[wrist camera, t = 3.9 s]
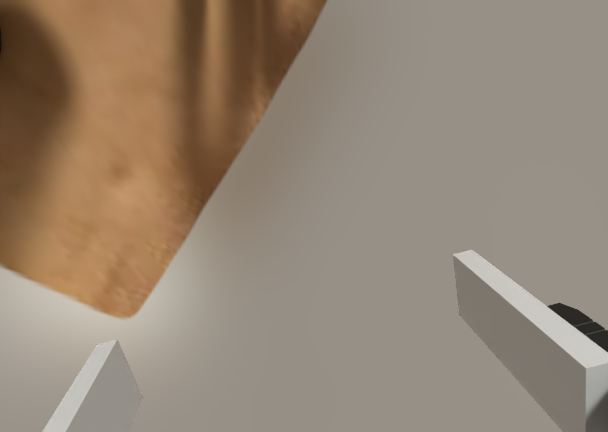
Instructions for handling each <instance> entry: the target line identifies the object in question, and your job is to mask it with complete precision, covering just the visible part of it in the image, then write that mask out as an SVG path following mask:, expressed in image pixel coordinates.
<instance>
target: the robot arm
mask: <svg viewBox="0 0 608 432" xmlns="http://www.w3.org/2000/svg"><path fill="white" fill-rule="evenodd" d="M0 52H1V31H0ZM453 259H454V269H455V278H456V287H457V296H458V305H459V315H460V316H461V317H462V318H463V319H464V320H465V321H466V323H467V324H468V325H469V326H470V327H471V328H472V329H473V331H474V332H475V333H476V334H477V335H478V336H479V337H480V338H481V340H482V341H483V342H484V343H485V344H486V345H487V346H488V348H489V349H490V350H491V351H492V352H493V353H494V354H495V355H496V357H497V358H498V359H499V360H500V361H501V362H502V363H503V364H504V366H505V367H506V368H507V369H508V370H509V371H510V372H511V373H512V375H513V376H514V377H515V378H516V379H517V380H518V381H519V382H520V383H521V385H522V386H523V387H524V388H525V389H526V390H527V391H528V392H529V394H530V395H531V396H532V397H533V398H534V399H535V401H536V402H537V403H538V404H539V405H540V406H541V407H542V408H543V410H544V411H545V412H546V413H547V414H548V415H549V416H550V417H551V419H552V420H553V421H554V422H555V423H556V424H557V425H558V426H559V428H560V429H561V430H562V431H563V432H608V331H607V330H605V329H604V328H603V327H602V326H601V325H599V324H598V323H596V322H593V321H592V319H590V318H589V317H588V316H586V315H585V314H583V313H582V312H580V311H579V310H577V309H574V308H572V307H569V306H566V305H563V304H561V303H557V304H553V305H550V306H545V305H544V304H543V303H542V302H540V301H539V300H538V299H536V298H535V297H534V296H532V295H531V294H530V293H528V292H527V291H526V290H524V289H523V288H522V287H520V286H519V285H518V284H516V283H515V282H514V281H512V280H511V279H510V278H509V277H507V276H506V275H505V274H503V273H502V272H500V271H499V270H498V269H497V268H495V267H494V266H493V265H491V264H490V263H489V262H487V261H486V260H485V259H484V258H482V257H481V256H480V255H478V254H477V253H476V252H474V251H473V250H469V251H465V252H461V253H457V254H453ZM142 397H143V396H142V394H141V392H140V390H139V387H138V385H137V382H136V380H135V378H134V376H133V373H132V371H131V369H130V367H129V364H128V362H127V360H126V358H125V356H124V353H123V351H122V349H121V346H120V344H119V342H118V340H113V341H109V342H105V343H101V344H97V346H96V347H95V349H94V351H93V352H92V354H91V355H90V357H89V358H88V360H87V362H86V363H85V365H84V366H83V368H82V369H81V371H80V373H79V375H78V376H77V377H76V379H75V381H74V382H73V384H72V385H71V387H70V389H69V390H68V392H67V393H66V395H65V396H64V398H63V400H62V401H61V403H60V404H59V406H58V408H57V409H56V411H55V413H54V414H53V416H52V417H51V419H50V420H49V422H48V424H47V426H46V427H45V428H44V430H43V431H42V432H130V429H131V427H132V424H133V421H134V418H135V416H136V413H137V410H138V408H139V405H140V403H141V400H142Z"/></svg>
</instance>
